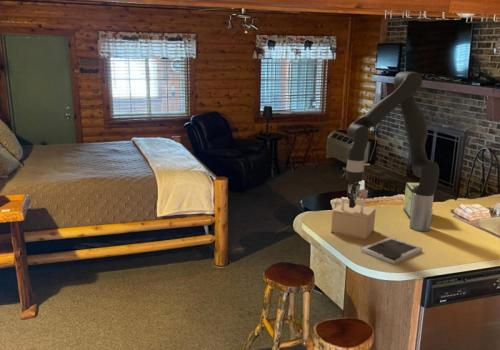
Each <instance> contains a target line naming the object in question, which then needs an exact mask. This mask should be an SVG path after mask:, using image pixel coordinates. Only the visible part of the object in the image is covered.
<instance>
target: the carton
mask: <svg viewBox="0 0 500 350" xmlns="http://www.w3.org/2000/svg"><path fill="white" fill-rule="evenodd" d="M376 212H377V211H376V210H375V211H374V212H373V213H372V214H371V215H370V216H369V217H368V218H364V217H359V216H353V215H347V214H342V213H336V212H333V211H332V212H331V213H332V215H331V227H330V228H331V231H330V233H331V234H335V235H339V236H345V237H349V238H356V239H360V240H364V239H365V241H366V240H367V239H368V238H369V236H370V235H372V233H373V232H374V231H373V230H375V222H376V221H375V219H376ZM372 231H373V232H372ZM367 237H368V238H367Z"/></svg>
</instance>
